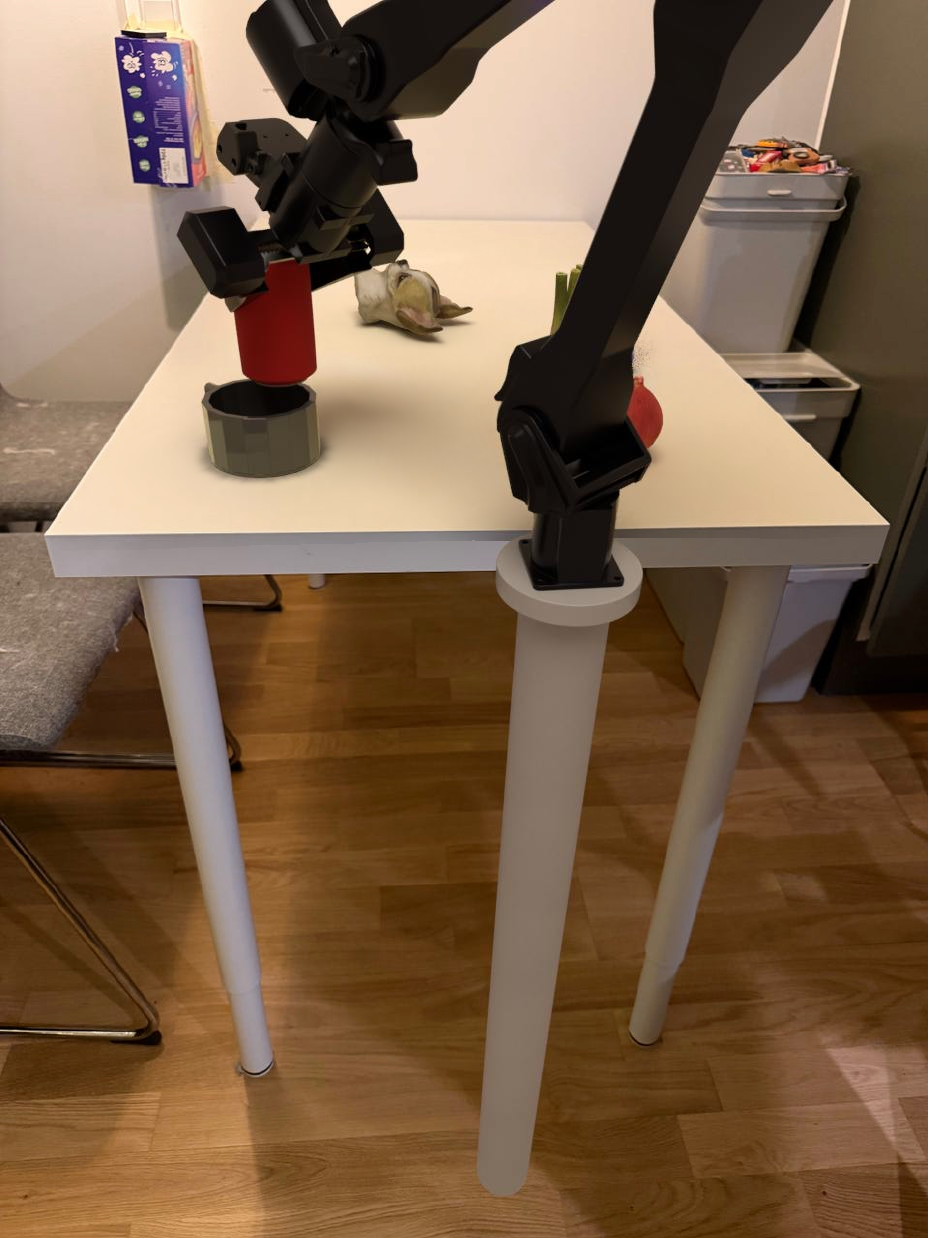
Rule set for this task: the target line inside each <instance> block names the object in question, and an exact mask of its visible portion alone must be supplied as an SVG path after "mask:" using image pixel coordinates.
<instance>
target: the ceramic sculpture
mask: <svg viewBox="0 0 928 1238" xmlns="http://www.w3.org/2000/svg"><path fill="white" fill-rule="evenodd" d="M353 280H354V281H353V282H354V293H355V297H356V300H357V302H358V305H357V311H358V315H359V317H360V318H361V320H362V321H363V322H364V323H366V324H371V323H377V322H379V321H384V322H388V323H389V324H391V325H394V326H396V327H398V328H402V329H403V330H408V331H410V332H412V333H414V334H416V335H422V336H423V335H430V334H434V333H439V332H442V331H444V327H443V326H441V325H440V324H439V323H438V321H437V319H438V320H451V319H454V318H458V317H460V316H464V315H466V314H470V313H472V312H473V311H474V307H472V306H463V307H461V306H460V305H458V304H457V303H456V302H452V300H451V299H449V297H447V296H444V295H441V293H440V292H441V291H440V288H439V285H438V283H437V281H436V280H435V279H434V278H433V276H432V275H431V274H430V273H428V272H427V271H422V270H420V269H413V268H411V267H410V264H409V262H408V260H407V259H405V258H403V259H397V260H396V261H395V262H394V263H389V264H387V265H386V267H385V268H384V270H383V271H380V270H379V269H376V268H375V267H372V269H371V270H369V271H366V272H362V273H360V274H357V275H355V276H353Z"/></svg>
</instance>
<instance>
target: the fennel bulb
mask: <svg viewBox="0 0 928 1238" xmlns="http://www.w3.org/2000/svg"><path fill="white" fill-rule="evenodd" d="M582 265H583V264H575V267H573V268H571V270H570V273H569V275H568V273H567V272H565V271H557V272H556V273H555V286H554V287H555V288H554V302H553V303H554V304H553V315H552V321H551V326H550V332H549V335H551V334H554V333H555V332H556V330H557V328H558V327H559V325H560V322H561V319H562V317H563V314H564V312H565V309H566V307H567V304H568V301H569V299H570V296H571V294H572V291H573V289H574V286H575V283H576V281H577V278H578V276H579V273H580V271H581V268H582ZM568 277H569V278H568Z"/></svg>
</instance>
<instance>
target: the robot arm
mask: <svg viewBox="0 0 928 1238" xmlns="http://www.w3.org/2000/svg"><path fill="white" fill-rule="evenodd" d="M555 1H556V0H380V1H378V2H376V3H374V4H372V5H371V6H369V7H367V8H365V9H363V10H361V11H359V12H358V13H356V14H354V15H352V16H351V17H349V18H348V19H347V20H346V21H345V22H344V24H343V25H342V24H341V22H340V21H339V19H338V18H337V16H336V14H335V12H334V10H333V9H332V7H331V4H330V2H329V0H264V1H263V3H262V4H260V5H259V6H258V8H257V9H256V10H255V11H252V12H251V13H250V14H249V17H248V19H247V22H246V26H245V38H246V41H247V43H248V45H249V47H250V49H251V51H252V53H253V54H254V56H255V58H256V60H257V61H258V63H259V65H260V66H261V68H262V70H263V72H264V74H265V76H266V77H267V79H268V81H269V82H270V84H271V86H272V88H273V90H274V91H275V93H276V95H277V96H278V98H279V100H280V102H281V104H282V106H283V108H284V109H285V111H286V112H287V114H288V115H289V116H290V117H293V118H296V119H301V120H306V119H308V120H309V121H311V122H315V124H314V126H313V128H312V130H311V132H310V133H309V135H308V137H307V138H306V137H305V136H304V135H303V134H302V133H301V132H299V130H298V129H297V128H296V127H294V125H292V124H291V123H290V122H288V121H287V120H285V119H282V118H279V117H264V118H249V119H240V120H238V121H237V120H236V121H226V122H225V123H224V124H223V126H222V128H221V130H220V131H219V133H218V136H217V138H216V147H215V154H216V158H217V160H218V162H219V163H220V164H221V165H222V166H223V167H224V168H225V169H226V170H227V171H228V172H229V173H230V174H231V175H232V176H233V177H238V176H245V177H246V178H247V179H248V180H249V181H250V182H251V183H252V184H253V186H255V187H256V188H258V190H257V192H256V194H255V196H254V200H255V202H256V204H257V206H258V208H259V209H260V211H261V212H263V213H264V212H267V213H268V215H269V217H268V223H267V224H268V226H269V228H263V229H257V230H258V231H253V230H250V231H251V232H248V231H249V230H248V228H247V227H246V226H245V223H244V222H243V220H242V219H241V217H240V215H239V213H238V212H237V210H236V208H235V207H232V206H227V205H221V206H214V207H213V206H212V207H205V208H199V209H192V210H185V212H184V215H183V217H182V220H181V222H180V225H179V227H178V229H177V232H176V237H177V239H178V240H179V243H180V244H181V246H182V248H183V249H184V251H185V252H186V255H187V256H188V258H189V260H190V261H191V263H192V265H193V267H194V269H195V270H196V272H197V273H198V276H199V277H200V279H201V281H202V282H203V284H204V286H205V288H206V289H207V291H208V293H209V295H211V296H213V297H215V298H217V299H220V300H224V304H225V306H226V308H227V310H228V311H229V313H234V312H235V311H237V310H239V309H241V308H243V307H245V306H246V305H248V304H249V303H251V302H253V301H254V300H256V299H257V298H259V297H261V296H263V295H264V294H266V293H267V292H269V288H268V286H267V285H266V283H265V281H264V279H265V277H266V275H265V273H266V272H267V270H268V264H273V263H278V262H283V261H289V260H294V259H295V260H296V262H297V264H298V265H302V264H307V263H309V269H310V280H311V291H312V293H314V292H317V291H319V290H322V289H324V288H327V287H329V286H332V285H335V284H337V283H339V282H342V281H345V280H347V279H350V278H352V277H354V276H355V275H357V274H360V273H362V272H366V271H369V270H371V269H372V267H373V268H375V267H380V266H384V265H389V264H391V263H394V262H395V261H397V260H398V258H399V257H400V255H401V254H402V253H403V251H404V250H405V232H404V230H403V228H402V227H401V225H400V223H399V221H398V220H397V218H396V216H395V215H394V213H393V212H392V210H391V208H390V206H389V205H388V202H387V201H386V199H385V197H384V195H383V194H382V192H381V190H380V189H379V187H385V186H393V185H401V184H406V183H407V184H408V183H414V182H416V181H418V179H419V170H418V163H417V160H416V159H415V155H414V152H413V151H414V150H413V145H414V144H413V143H414V142H413V140H411V139H410V138H404V136H403V134H402V132H401V130H400V129H399V127H398V125H397V123H396V121H404V120H418V119H419V120H420V119H431V118H436V117H439V116H442V115H443V114H444V113H446V112H447V110H449V109H450V108H451V106H452V105H453V104H454V103H455V102H456V101H457V100H458V98H459V97H461V95H462V94H463V93H464V92H465V91H466V90H467V89H468V88H469V87H470V86H471V85H472V83H473V81H474V79H475V76H476V73H477V70H478V67H479V64H480V61H481V60H482V59H483V58H484V56H486V54H487V53H488V52H489V51H490V50H491V49H492V48H493V47H494V46H496V45H497V44H499V43H500V42H501V41H503V40H504V39H505V38H506V37H508V36H510V34H512V33H513V32H515V31H516V30H517V29H518V28H520V27H521V26H523V25H524V24H525V23H526V22H528V21H529V20H531V19H532V18H533V17H535V16H537V14H539V13H540V12H542V10H544V9H545V8H547V7H548V6H550V5H551V4H553V2H555ZM833 2H834V0H654V3H653V7H652V30H653V32H652V33H653V57H654V61H653V63H654V73H653V74H654V75H653V81H652V84H651V89H650V91H649V94H648V97H647V98H646V102H645V104H644V106H643V109H642V112H641V114H640V117H639V120H638V122H637V125H636V127H635V129H634V132H633V135H632V137H631V140H630V142H629V145H628V148H627V150H626V153H625V154H624V158H623V161H622V163H621V166H620V168H619V171H618V173H617V175H616V178H615V181H614V182H613V186H612V189H611V191H610V194H609V196H608V199H607V201H606V204H605V207H604V209H603V212H602V214H601V217H600V220H599V222H598V225H597V227H596V230H595V232H594V235H593V238H592V240H591V242H590V245H589V248H588V250H587V253H586V254H585V255H586V256H585V257H584V260H583V264H581V265H582V268H581V271H580V273H579V276H578V278H577V281H576V283H575V286H574V289H573V291H572V294H571V296H570V299H569V301H568V304H567V307H566V309H565V312H564V314H563V317H562V319H561V322H560V325H559V327H558V328H557V330H556V332H555V333H554V334H551V335H550V334H549V335H545V336H542V337H539V338H536V339H533V340H532V339H531V340H530V341H526V342H524V343H519V344H517V345H516V346H515V347H514V349H513V351H512V353H511V355H510V357H509V360H508V365H507V371H506V375H505V379H504V381H503V383H502V386H501V388H500V389H499V390H498V391H497V392H496V393H495V394H494V396H493V400H494V401H495V402H501V403H500V405H499V406H498V409H497V415H496V420H495V421H496V432H497V433H498V434H499V439H500V443H501V449H502V453H503V458H504V463H505V467H506V472H507V477H508V481H509V486H510V491H511V495H512V497H513V498H514V499H516V500H519V501H520V502H523V503H524V504H525V505H526V506H527V507H526V508H527V511H529V512H530V513H533V520H532V530H531V532H532V539H521V540H519V543H518V548H519V551H520V554H521V556H522V559H523V562H524V565H525V568H526V571H527V573H528V576H529V579H530V582H531V585H532V588H533V589H534V590H537V591H552V590H572V589H592V588H612V587H622V586H623V585H624V580H625V579H624V577H623V575H622V573H621V571H620V569H619V567H618V565H617V563H616V561H615V559H614V557H613V555H612V553H611V552H612V545H613V540H614V538H615V531H616V523H617V517H618V509H619V503H620V502H619V501H620V496H621V492H620V491H621V490H622V489H625V488H627V487H628V486H630V485H632V484H637V483H639V482H641V481H642V479H643V478H644V477H645V474H646V473H647V471H648V470H649V467H650V465H651V464H652V461H653V458H652V455H651V453H650V451H649V450H648V448H646V446H645V444H644V443H643V441H642V439H641V437H640V436H639V434H638V432H637V430H636V429H635V427H634V425H633V423H632V422H631V420H630V418H629V416H628V414H627V411H628V408H629V404H630V401H631V398H632V394H633V391H634V378H635V377H634V367H633V365H634V364H633V363H632V353H633V349H634V350H635V347H634V346H636V344H637V341H638V340H639V337H640V336H641V334H642V331H643V329H644V326H645V325H646V322H647V320H648V318H649V316H650V314H651V311H652V310H653V307H654V305H655V303H656V302H657V299H658V297H659V294H660V293H661V290H662V288H663V286H664V284H665V282H666V280H667V279H668V275H669V273H670V271H671V269H672V267H673V265H674V263H675V261H676V258H677V257H678V255H679V252H680V250H681V248H682V246H683V244H684V242H685V240H686V237H687V235H688V233H689V231H690V228H691V227H692V224H693V222H694V220H695V219H696V216H697V214H698V212H699V210H700V208H701V205H702V203H703V201H704V199H705V197H706V195H707V193H708V190H709V188H710V186H711V184H712V182H713V180H714V178H715V176H716V173H717V171H718V169H719V167H720V166H721V163H722V161H723V159H724V157H725V155H726V152H727V150H728V148H729V146H730V144H731V142H732V140H733V137H734V135H735V134H736V130H737V129H738V127H739V125H740V122H741V120H742V118H743V117H744V115H745V114H746V112H747V111H748V109H749V108H750V106H751V105H753V103H754V102H756V100H757V99H758V98H759V97H760V96H761V95H762V93H763V92H764V91H765V90H766V89H767V88H768V87H769V86H770V85H771V84H772V82H773V81H774V80H775V79H776V78H777V77H778V76H779V75H780V74H781V73H782V72H783V71H784V70H785V68H787V66H788V65H789V64H790V63H791V62H792V61H793V60H794V59H795V58H796V57H797V56H798V54H799V53H800V52H801V50H802V49H803V47H804V46H805V44H806V43H807V41H808V40H809V39H810V37H811V36H812V34H813V32H814V31H815V29H816V28H817V27H818V24H819V23H820V22H821V20H822V19H823V18H824V16H825V14H826V13H827V11H828V10H829V8H830V7H831V5H832V4H833ZM368 249H369V252H367V250H368Z"/></svg>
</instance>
